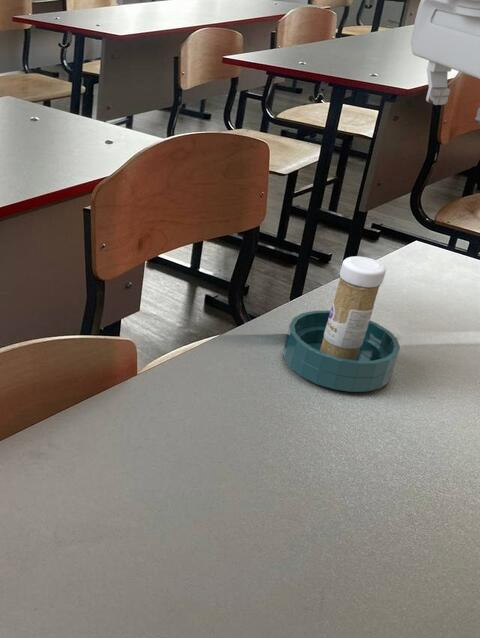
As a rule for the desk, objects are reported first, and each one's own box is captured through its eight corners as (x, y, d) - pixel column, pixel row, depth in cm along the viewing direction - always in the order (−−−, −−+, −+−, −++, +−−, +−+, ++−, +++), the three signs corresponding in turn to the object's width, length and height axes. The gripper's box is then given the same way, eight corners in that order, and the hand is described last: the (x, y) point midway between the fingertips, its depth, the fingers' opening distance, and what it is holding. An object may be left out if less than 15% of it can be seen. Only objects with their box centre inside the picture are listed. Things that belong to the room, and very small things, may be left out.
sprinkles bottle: (311, 352, 94) (337, 254, 88) (347, 353, 94) (376, 255, 88) (324, 373, 90) (352, 272, 84) (362, 374, 90) (394, 272, 84)
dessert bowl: (359, 339, 98) (368, 309, 96) (409, 395, 88) (420, 362, 85) (267, 341, 98) (274, 310, 95) (306, 397, 87) (315, 364, 85)
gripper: (604, -9, 69) (550, 140, 76) (469, -31, 87) (435, 92, 94) (538, -8, 69) (490, 142, 76) (416, -30, 87) (386, 93, 94)
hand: (459, 114), depth 85 cm, fingers open, 8 cm apart
